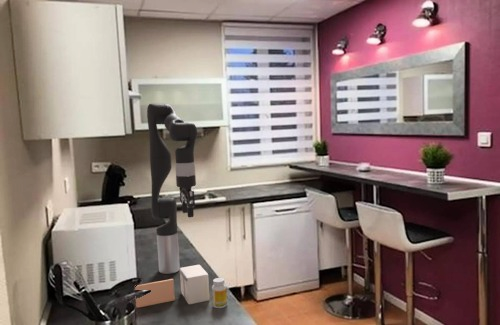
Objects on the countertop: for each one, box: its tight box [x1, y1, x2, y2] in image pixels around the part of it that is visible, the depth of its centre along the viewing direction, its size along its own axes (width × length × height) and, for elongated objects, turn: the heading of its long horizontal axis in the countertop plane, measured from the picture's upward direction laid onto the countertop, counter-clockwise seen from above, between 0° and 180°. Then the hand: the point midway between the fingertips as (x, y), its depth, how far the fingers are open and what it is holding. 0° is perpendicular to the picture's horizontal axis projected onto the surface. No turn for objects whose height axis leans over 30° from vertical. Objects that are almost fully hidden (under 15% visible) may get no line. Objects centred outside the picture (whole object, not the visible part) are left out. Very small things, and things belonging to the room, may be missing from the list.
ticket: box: [134, 278, 176, 308], centre depth 156 cm, size 1×14×8 cm, turn 112°
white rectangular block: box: [178, 264, 211, 305], centre depth 162 cm, size 12×8×10 cm
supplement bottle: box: [211, 277, 228, 309], centre depth 153 cm, size 5×5×10 cm
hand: (188, 214), depth 167 cm, fingers open, 8 cm apart
